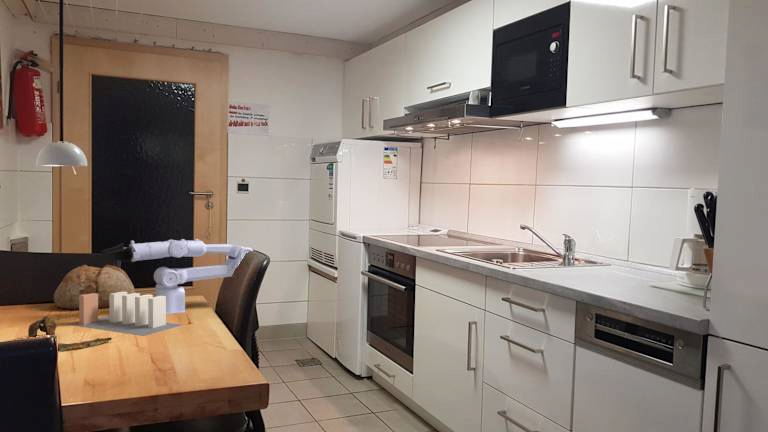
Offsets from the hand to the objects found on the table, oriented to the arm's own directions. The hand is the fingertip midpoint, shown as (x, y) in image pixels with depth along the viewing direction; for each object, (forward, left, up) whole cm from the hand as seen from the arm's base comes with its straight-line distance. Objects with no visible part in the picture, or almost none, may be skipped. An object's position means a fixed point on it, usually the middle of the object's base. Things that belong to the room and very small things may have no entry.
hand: (104, 255), depth 186 cm
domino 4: (-9, +15, -21) cm, 27 cm away
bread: (-2, -29, -22) cm, 36 cm away
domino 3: (-6, +11, -21) cm, 24 cm away
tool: (+15, +30, -22) cm, 40 cm away
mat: (-4, +13, -21) cm, 25 cm away
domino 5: (-11, +20, -21) cm, 31 cm away
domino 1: (+5, +4, -21) cm, 22 cm away
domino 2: (-3, +6, -21) cm, 22 cm away
